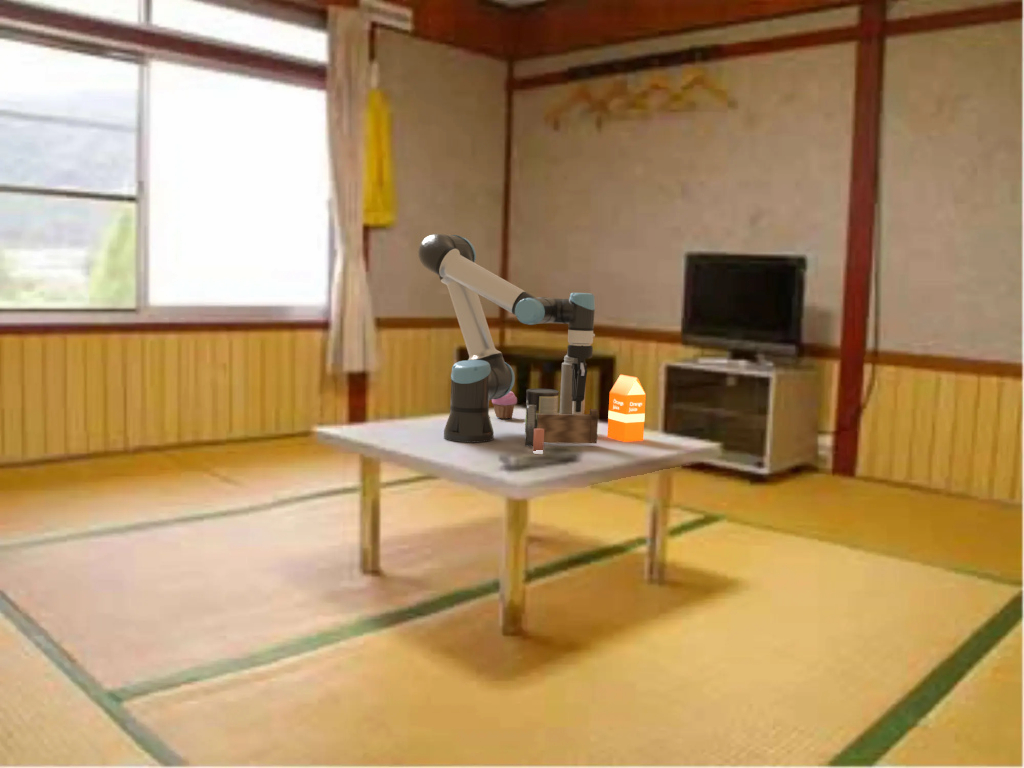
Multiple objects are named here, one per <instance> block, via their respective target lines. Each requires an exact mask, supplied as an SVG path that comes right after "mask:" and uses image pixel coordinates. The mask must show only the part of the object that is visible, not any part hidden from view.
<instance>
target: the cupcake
mask: <svg viewBox="0 0 1024 768" xmlns="http://www.w3.org/2000/svg"><path fill="white" fill-rule="evenodd" d="M491 403H492V405H493V410H494V413H495V416H496V418H498V417H499V418H498V419H502V420H503V419H504V420H506V419H508V418H510V419H512V418H513V416H514V415H513V414H514V408H515V405H516V404H517V403H518V398H517V396H516V395H515V393H514V392H513V391H512V390H511V391H510V392H509V393H508V394H507V395H505V396H503V397H501V398H498V399H492V400H491ZM508 420H509V419H508Z"/></svg>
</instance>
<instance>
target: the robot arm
mask: <svg viewBox="0 0 1024 768" xmlns="http://www.w3.org/2000/svg"><path fill="white" fill-rule="evenodd" d="M417 252H418V254H417V255H418V259H419V262H420V264H421V265H422V266H423V267H424V268H425V269H426V270H428V271H430V272H432V273H434V274H436V275H437V276H438V277H439V280H440V282H441V283H442V284H444V285H446V287H447V289H448V293H449V295H450V296H449V297H450V299H451V303H452V305H453V309H454V312H455V316H456V318H457V322H458V325H459V328H460V331H461V335H462V337H463V341H464V344H465V348H466V350H467V354H468V359H467V360H459V361H457V362H455V363H453V365H452V367H451V374H450V381H451V382H450V408H449V409H450V411H449V412H450V413H449V415H448V418H447V421H446V424H445V427H444V429H443V438H444V439H445V440H449V441H454V442H461V443H463V442H464V443H482V442H484V443H485V442H489V441H493V440H494V427H493V425H492V422H491V417H490V414H489V410H490V406H489V405H490V401H492V399H498V398H501V397H503V396H505V395H507V394H508V393H509V392H510V391H511V392H512V390H513V387H514V386H515V379H516V377H515V372H514V370H513V368H512V366H511V365H510V364H509V363H507V362H505V359H504V357H503V353H502V352H501V351H500V350H498V349H497V348H496V347H495V344H494V341H493V337H492V334H491V332H490V328H489V325H488V322H487V318H486V315H485V312H484V309H483V305H482V303H481V299H480V296H481V297H483V298H485V299H486V300H488V301H490V302H492V303H494V304H495V305H497V306H499V307H500V308H502V309H504V310H505V311H507V312H508V313H511V314H513V315H515V317H516V319H517V320H518V321H519V323H522V324H524V325H528V326H533V325H538V324H539V325H540V324H567V325H568V330H567V342H568V345H567V353H566V355H567V356H568V357H571V358H574V363H572V366H571V369H572V395H571V396H572V401H573V408H572V414H582V402H583V400H584V395H585V396H586V389H585V385H587V375H588V369H587V368H588V364H587V363H586V359H591V358H593V350H594V349H593V347H594V346H592V344H593V343H594V338H595V336H596V334H595V333H594V326H595V325H594V324H595V310H596V307H595V306H596V305H595V304H596V303H595V300H596V298H595V296H594V294H593V293H589V292H571V293H570V294H569V295H570V296H569V298H558V297H557V298H556V297H555V298H554V297H545V296H542V297H536V296H534V295H532V294H530V293H529V292H526V290H523V289H522V288H520V287H518V286H517V285H515V284H512V283H511V282H509V281H508V280H506V279H504V278H502V277H500V276H499V275H496V274H495V273H493V272H492V271H490V270H488V269H487V268H484V267H483V266H481V265H479V264H477V263H476V262H475V261H476V259H477V253H476V249H475V247H474V245H473V243H472V242H471V241H470V240H469V239H468V238H465V237H463V236H460V235H457V234H443V233H432V234H430V235H427V236H426V237H424V239H423V240H422V241H421V242H420V244H419V247H418V251H417Z"/></svg>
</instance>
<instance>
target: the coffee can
mask: <svg viewBox="0 0 1024 768" xmlns="http://www.w3.org/2000/svg"><path fill="white" fill-rule="evenodd" d="M525 391H526V398H525V399H526V400H525V401H526V402H525V417H526V416H527V405H536V427H535V428H537V414H558V410H559V394H560V391H559V390H557V389H551V388H528V389H526V390H525ZM524 423H525V427H524V435H526V420H525V422H524Z"/></svg>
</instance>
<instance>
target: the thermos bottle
mask: <svg viewBox="0 0 1024 768" xmlns="http://www.w3.org/2000/svg"><path fill="white" fill-rule="evenodd" d="M563 360H564V361H563V362H562V363H561V379H560V392H559V394H560V396H559V397H560V398H559V414H572V408H573V401H572V396H571V395H572V369H571V366H572V363H574V358H571V357H568V356H567V354H566V355H564V358H563ZM586 385H587V384H586ZM586 385H585V390H586ZM585 407H586V394H585V395H584V400H583V402H582V414H585V410H586V409H585Z"/></svg>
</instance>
